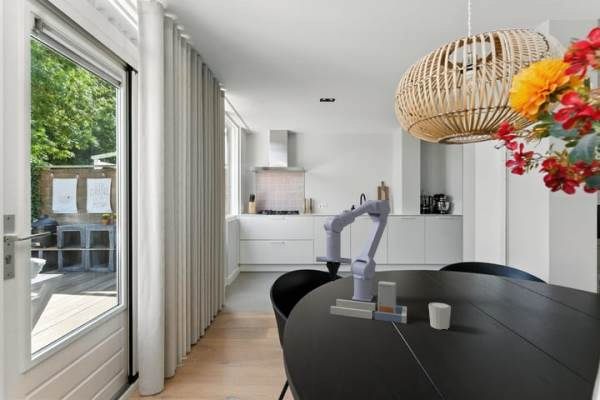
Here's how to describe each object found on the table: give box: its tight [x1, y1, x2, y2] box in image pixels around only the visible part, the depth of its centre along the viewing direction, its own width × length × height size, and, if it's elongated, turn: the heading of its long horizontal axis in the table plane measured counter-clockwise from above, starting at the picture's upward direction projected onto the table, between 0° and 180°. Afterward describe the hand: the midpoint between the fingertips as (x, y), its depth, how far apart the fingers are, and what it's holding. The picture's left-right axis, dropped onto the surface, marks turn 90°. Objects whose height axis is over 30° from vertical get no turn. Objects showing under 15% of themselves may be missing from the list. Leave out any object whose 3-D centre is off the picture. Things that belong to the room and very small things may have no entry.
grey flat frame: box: [329, 298, 408, 324], centre depth 116 cm, size 11×26×2 cm, turn 70°
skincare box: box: [377, 280, 397, 313], centre depth 114 cm, size 6×4×12 cm
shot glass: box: [428, 301, 452, 330], centre depth 104 cm, size 7×7×7 cm
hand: (333, 280), depth 128 cm, fingers closed
